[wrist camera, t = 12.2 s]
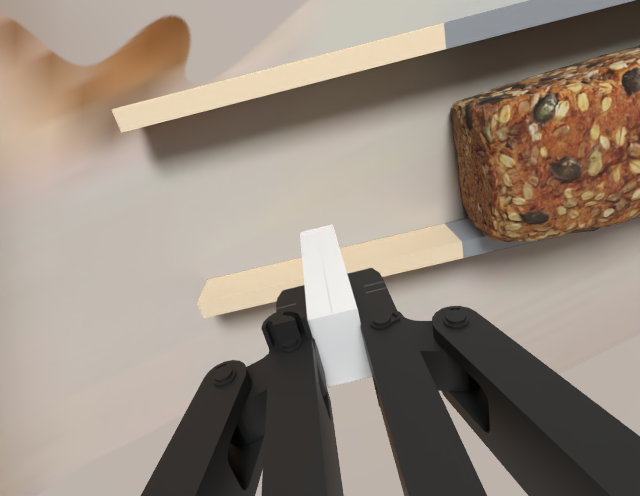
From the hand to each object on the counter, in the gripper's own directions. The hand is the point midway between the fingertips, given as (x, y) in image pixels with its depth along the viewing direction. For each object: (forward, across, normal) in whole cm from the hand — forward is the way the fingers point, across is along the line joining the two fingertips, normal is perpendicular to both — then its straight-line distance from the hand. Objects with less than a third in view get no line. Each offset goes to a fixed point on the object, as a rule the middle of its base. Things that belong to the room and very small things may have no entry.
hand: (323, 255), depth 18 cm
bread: (+16, +21, -2) cm, 26 cm away
